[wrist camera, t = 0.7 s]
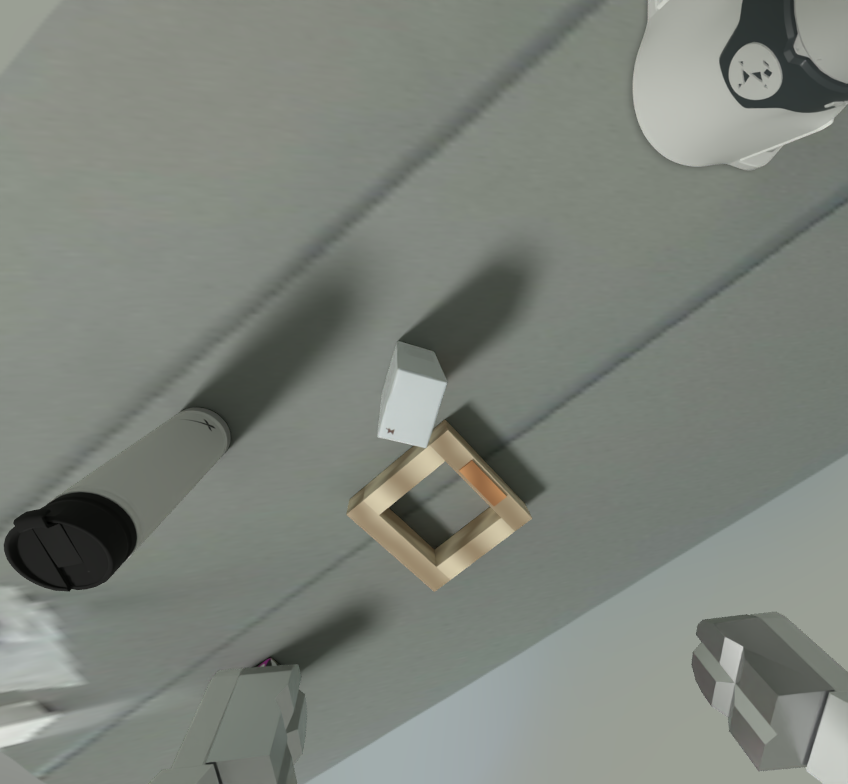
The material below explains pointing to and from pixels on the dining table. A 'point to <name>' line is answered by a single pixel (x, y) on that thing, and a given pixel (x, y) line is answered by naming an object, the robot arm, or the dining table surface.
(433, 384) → the skincare box
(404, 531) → the frame
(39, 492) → the dining table surface
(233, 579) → the dining table surface
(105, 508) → the travel mug
